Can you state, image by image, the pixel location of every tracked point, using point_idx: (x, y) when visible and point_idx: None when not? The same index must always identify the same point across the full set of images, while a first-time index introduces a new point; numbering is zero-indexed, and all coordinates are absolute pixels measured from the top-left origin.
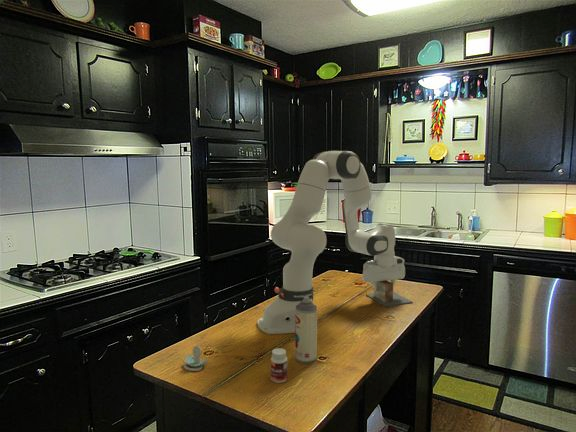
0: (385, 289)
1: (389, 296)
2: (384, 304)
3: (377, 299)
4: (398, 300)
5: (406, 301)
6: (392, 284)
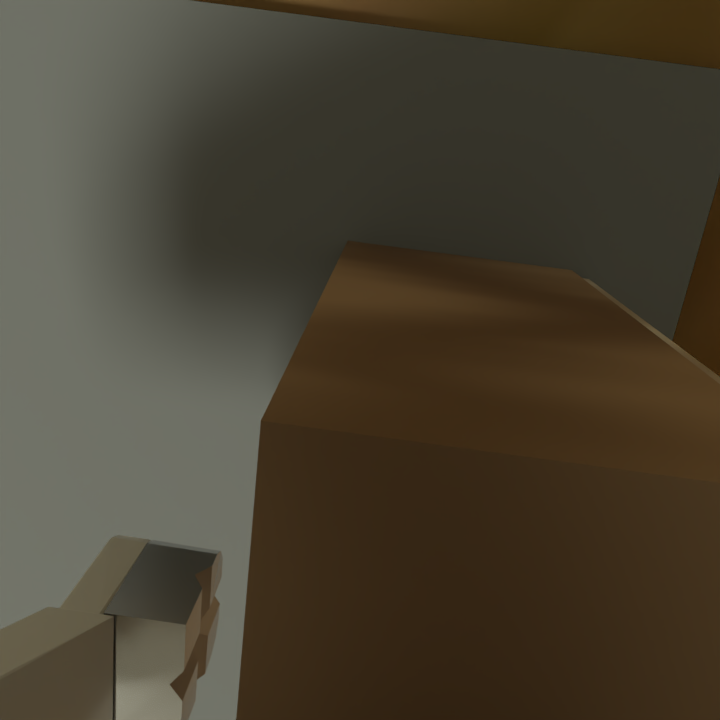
0: (712, 384)
1: (456, 283)
2: (711, 144)
3: None
4: (185, 215)
5: (40, 55)
6: (334, 407)
